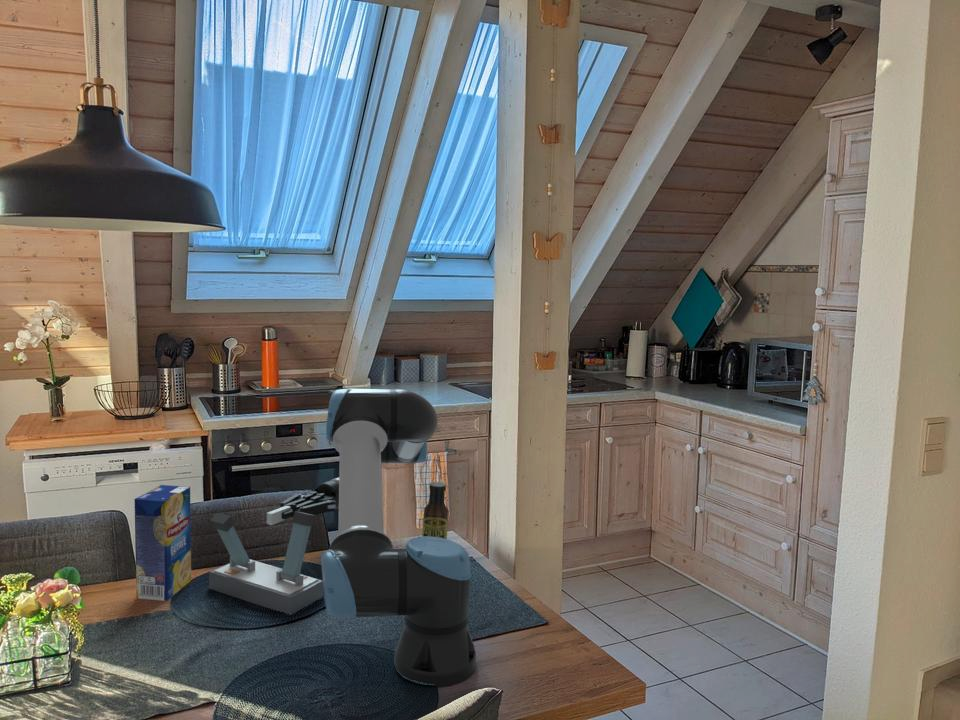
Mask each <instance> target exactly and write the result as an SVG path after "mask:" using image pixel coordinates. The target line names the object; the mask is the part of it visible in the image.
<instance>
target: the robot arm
mask: <svg viewBox="0 0 960 720" xmlns="http://www.w3.org/2000/svg"><path fill="white" fill-rule="evenodd" d="M328 403H329V404H328V408H327V409H328V410H327V417H326V418H327V419H326V427H325V437H326V440H327V441H328V442H330V443H332V445H333V448H334V449H335V450H336V452H338V453H339V464H338V465H339V469H338V471H339V472H338V477H335V478H332V479H330V480H327V481H324V482H322V483H319V484H318V485H317V486H316V487H315V490H314V491H310V492H307V493H306V494H302V493H301V492H299V491H297V492H295V493H294V494H293V495H292V496H290V497H288V498H286V499H285V500H283V501H281V502H280V505H279V506H280V507H279V508H276V509H273V510H270V511H268V512H266V525H270V526H273V525H276V524H278V523H280V522H283V521H285V520H286V521H287V520H289V519H291V518H293V516H294V512H295V511H296V512H303V513H307V514H311V515H315V516H317V515H318V516H319V515H321V514H325V513H331V512H336V510H338V516H337V517H338V519H337V520H338V524H337V525H338V526H337V529H338V530H337V536H335V537H334V538H333V539H332V540H331V542H330V545H329V549H327V550H324V551H322V552H321V558H320V559H321V561H320V563H321V574H322V575H321V576H322V581H323V598H324V605H325V608H326V612H327V614H328V615H329V616H331V617H333V618H335V619H336V618H337V619H338V618H339V619H340V618H349V619H351V620H352V619H356V618H370V617H394V616H395V617H396V616H404V625H403V628H402V631H401V634H400V636H399V639H398V642H397V645H396V648H395V650H394V653H393V656H394V657H393V666H394V665H395V667H396V669H397V670H398V671H399V672H400V673H401V674H402V675H403V676H405V677H407V678H409V679H411V680H416V681H418V682H423V683H427V684H429V683H430V684H434V685H436V686H435V687H443V686H445V687H446V686H451V685H455V684H458V683H461V682H463V681H465V680H467V679H468V678H470V677H471V676H472V675H473V673H474V672H475V670H476V668H477V665H476V663H477V654H476V649H475V645H474V641H473V639H472V635H471V631H470V628H469V603H470V602H469V601H470V600H469V599H470V578H471V577H472V573H471V565H470V564H471V562H470V561H471V559H470V555H469V553H468V551H467V550H466V548H465V547H464V546H462V545H460V544H459V543H457V542H455V541H453V540H451V539H448V538H447V539H444V538H439V537H431V536H422V535H421V536H418V537H412V538H411V539H409V540H408V541H407V543H406V544H405V548H393V544H392V541H391V540H392V539H390V537H389V536H388V535H387V534H386V533H384V510H383V508H384V505H383V504H384V503H383V482H382V481H383V480H382V479H383V478H382V477H383V475H382V464H412V465H415V464H421V463H422V464H423V463H425V462H426V461H427V454H428V440H429V439H431V438H432V437H433V436H434V434H435V432H436V429H437V427H438V421H439V420H438V414H437V411H436V409H435V408H434V406H433V405H432V403H430V401H428V400H427V399H426V398H425V397H424V396H422V395H421V394H419V393H416V392H413V391H411V390H408V389H407V390H406V389H402V388H401V389H399V388H398V389H397V388H395V389H389V388H388V389H386V388H384V389H383V388H382V389H381V388H372V389H371V388H353V387H350V388H343V389H341V388H339V389H336V390H335V391H334V392H332V394H331V396H330V399H329V402H328Z"/></svg>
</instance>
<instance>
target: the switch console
mask: <svg viewBox="0 0 960 720" xmlns="http://www.w3.org/2000/svg"><path fill="white" fill-rule="evenodd" d="M249 559H250V558H249ZM282 569H283V568H282V567H277V566H274V565H270V564H268V563H267V564H266V563H264V562H260V561H257V560H254V559H250V562H248V563H247V568H245V567H242V566H239V565H235V564H234V562H233V560H232V558H231V556H230V557H229V563H226V564H224V565H221V566H219V567H217V568H215V569H212V570H209V571H208V572H209V573H208V576H209V577H208V583H209V584H208V585H209V586H208V587H209V588H208V589H209V590H212V591H215V592H217V593H221V594H225V595H227V596H229V597H230V596H231V597H233V598H236V599H239V600H243V601H246V602H249V603H251V604H253V605H257V606H261V607H264V608H267V609H269V608H270V610H272V609H273V611H275V610H276V612H278V611H280V612H279V613H281V612H284V613H287V614H289V615H288V616H290V615H292V614H293V613H295V612H297V611H299V610H300V609H302V608H303V607H305V606H306V605H308V604H310V603H312V602H313V601H315V600H317V599H318V598H320V597H322V596H323V597H324V590H323V579H322V580H321V579H318V578H314V577H312V576H307V575H304V574H302V573H300V575H298V576H296V577H295V582H292V581H288V580H285V579H282V578H281V573H282ZM302 610H303V609H302ZM299 612H300V611H299ZM284 613H283V614H284ZM297 613H298V612H297ZM287 614H286V615H287ZM295 614H296V613H295ZM293 615H294V614H293ZM293 615H292V616H293Z"/></svg>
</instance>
